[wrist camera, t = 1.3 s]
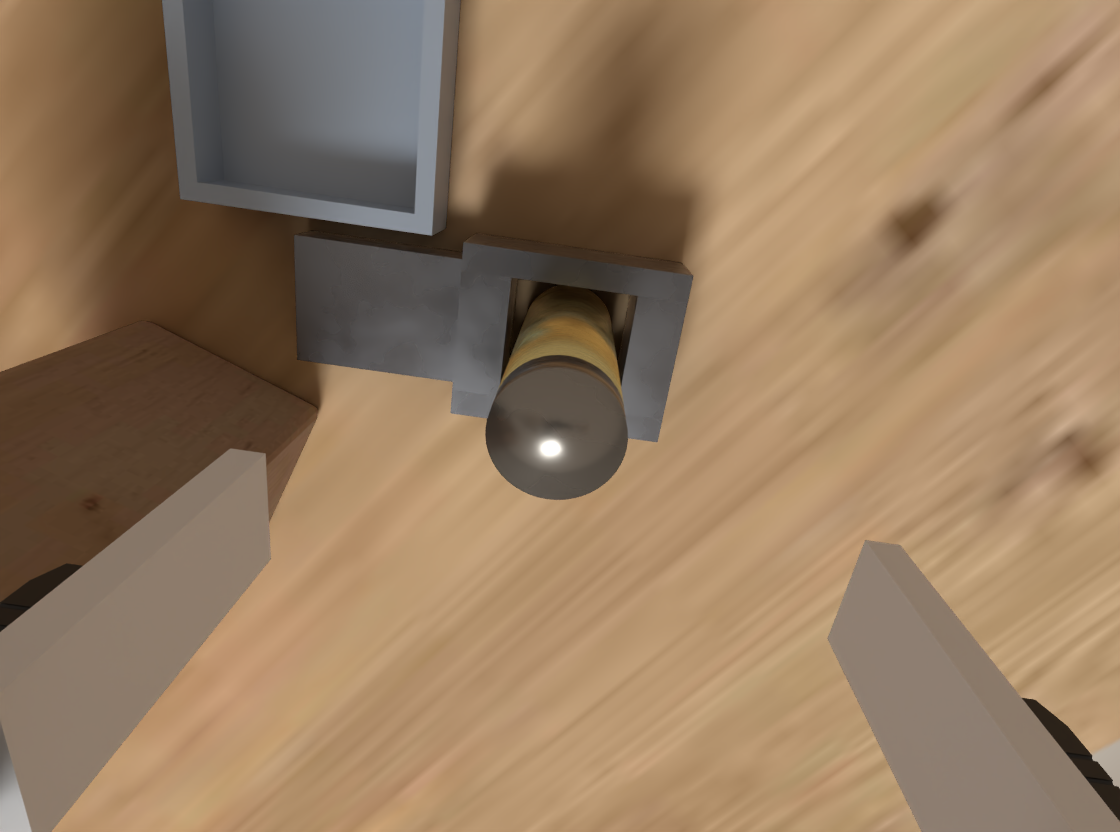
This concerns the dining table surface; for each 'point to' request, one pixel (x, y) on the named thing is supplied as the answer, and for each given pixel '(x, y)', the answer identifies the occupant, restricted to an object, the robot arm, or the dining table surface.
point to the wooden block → (124, 440)
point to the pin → (560, 400)
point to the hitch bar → (477, 312)
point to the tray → (316, 107)
